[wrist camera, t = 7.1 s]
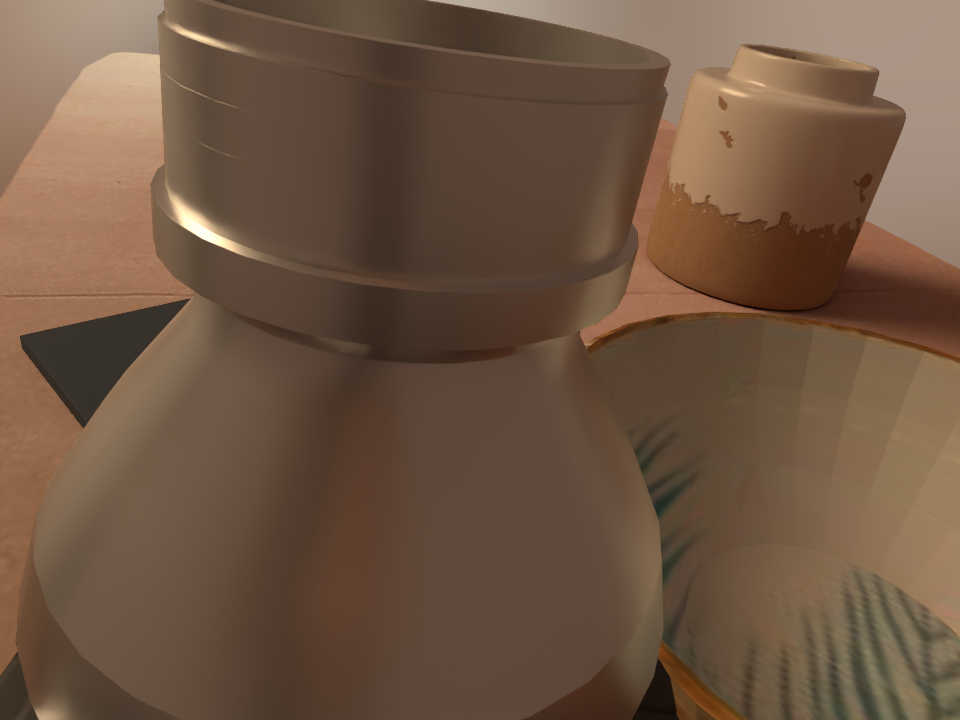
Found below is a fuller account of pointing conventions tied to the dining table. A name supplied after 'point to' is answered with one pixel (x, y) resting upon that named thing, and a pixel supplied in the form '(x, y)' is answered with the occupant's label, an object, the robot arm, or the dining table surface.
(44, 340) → the mat
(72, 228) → the dining table surface
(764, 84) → the vase
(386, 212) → the silver metal bottle
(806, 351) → the bowl
